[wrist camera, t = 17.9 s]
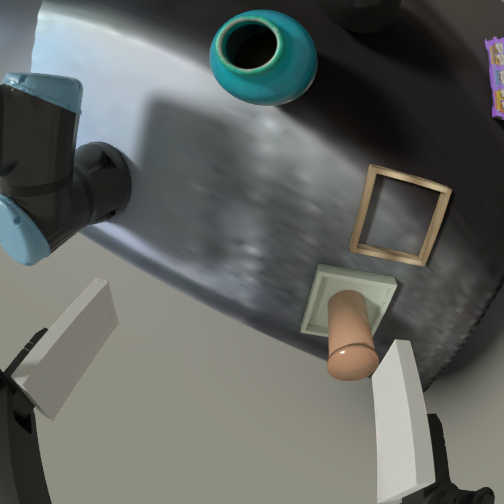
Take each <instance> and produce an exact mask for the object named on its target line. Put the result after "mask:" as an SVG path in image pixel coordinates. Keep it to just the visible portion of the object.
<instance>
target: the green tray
mask: <svg viewBox="0 0 504 504" xmlns="http://www.w3.org/2000/svg"><path fill="white" fill-rule="evenodd" d="M396 287H397V283H396V281H395V278H394V277H391V276H385V275H380V274H375V273H369V272H364V271H358V270H353V269H347V268H342V267H337V266H331V265H326V264H320V263H318V265H317V269H316V273H315V277H314V280H313V284H312V288H311V291H310V295H309V299H308V302H307V306H306V309H305V312H304V316H303V319H302V323H301V332H300V333H306V334H312V335H318V336H324V337H329V333H328V309H327V305H328V301H329V299H330V298H331V297H332V296H333V295H334V294H336V293H337V292H339V291H343V290H354V291H357V292H359V293H360V294H362V296H363V297H364V299H365V303H366V307H367V312H368V317H369V322H370V327H371V332H372V337H373V335H374V333H375V331H376V329H377V327H378V325H379V324H380V322H381V319H382V317H383V315H384V313H385V311H386V309H387V307H388V305H389V303H390V301H391V298H392V296H393V294H394V292H395V290H396Z"/></svg>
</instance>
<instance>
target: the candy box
mask: <svg viewBox="0 0 504 504" xmlns="http://www.w3.org/2000/svg"><path fill="white" fill-rule="evenodd" d="M485 45H486V51H487V57H488V65H489V73H490V82H491V96H492V117H494V118H498V119H501V120H504V35H502V36H498V37H493V38H488V39H485Z"/></svg>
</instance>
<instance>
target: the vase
mask: <svg viewBox="0 0 504 504" xmlns="http://www.w3.org/2000/svg"><path fill="white" fill-rule="evenodd" d="M209 58H210V66H211V70H212V72H213V74H214V77H215V78H216V80H217V81H218V83H219V84H220V85H221V86H222V87H223V89H225V90H226V91H227V92H228V93H230V94H231V95H233V96H234V97H236V98H238V99H240V100H242V101H245V102H247V103H251V104H255V105H263V106H274V105H281V104H285V103H288V102H291V101H293V100H295V99H297V98H298V97H300V96H301V95H303V94H304V93H305V92H306V91H307V90H308V88H309V87H310V86H311V84H312V82H313V80H314V78H315V75H316V71H317V52H316V48H315V45H314V43H313V40H312V38H311V37H310V35H309V34H308V32H307V31H306V29H305V28H304V27H303V26H302V25H301V24H300V23H298V22H297V21H296V20H294V19H293V18H291V17H289V16H287V15H285V14H282V13H280V12H276V11H271V10H253V11H248V12H244V13H242V14H239V15H237V16H235V17H233V18H232V19H230V20H229V21H227V22H226V23H225V24H224V25H223V26H222V27H221V28H220V29H219V30H218V32H217V33H216V35H215V37H214V39H213V41H212V44H211V47H210V55H209Z"/></svg>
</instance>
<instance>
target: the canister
mask: <svg viewBox="0 0 504 504" xmlns="http://www.w3.org/2000/svg"><path fill="white" fill-rule="evenodd" d="M327 309H328V333H329V358H328V360H327V370H328V373H329V374H330V375H331V376H332V377H334V378H336V379H338V380H342V381H355V380H359V379H362V378H365V377H367V376H369V375H370V374H372V373H373V372H374V371H375V370H376V368H377V366H378V363H379V360H378V354H377V352H376V350H375V349H374V343H373V337H372V332H371V327H370V322H369V317H368V312H367V307H366V303H365V299H364V297H363V296H362V294H360V293H359V292H357V291H354V290H343V291H339V292H337V293H336V294H334V295H333V296H332V297H331V298H330V299H329V301H328V305H327Z"/></svg>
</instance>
